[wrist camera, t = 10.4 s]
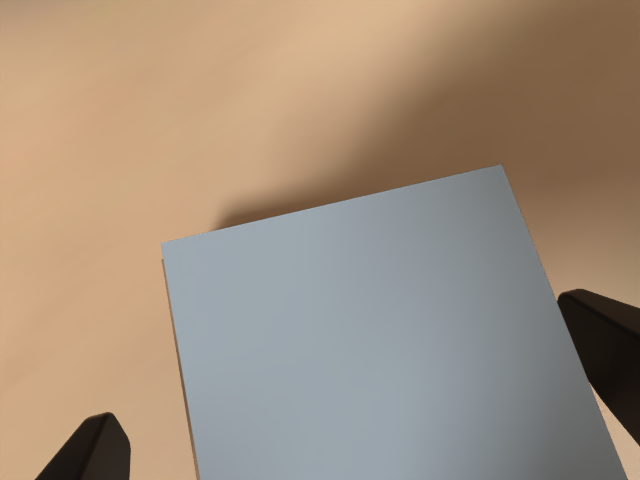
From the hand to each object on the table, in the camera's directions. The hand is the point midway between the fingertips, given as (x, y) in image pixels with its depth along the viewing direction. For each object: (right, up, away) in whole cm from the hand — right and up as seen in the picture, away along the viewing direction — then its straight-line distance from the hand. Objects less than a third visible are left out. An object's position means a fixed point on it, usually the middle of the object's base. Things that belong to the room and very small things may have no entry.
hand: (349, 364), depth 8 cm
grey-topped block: (0, -2, +8) cm, 8 cm away
